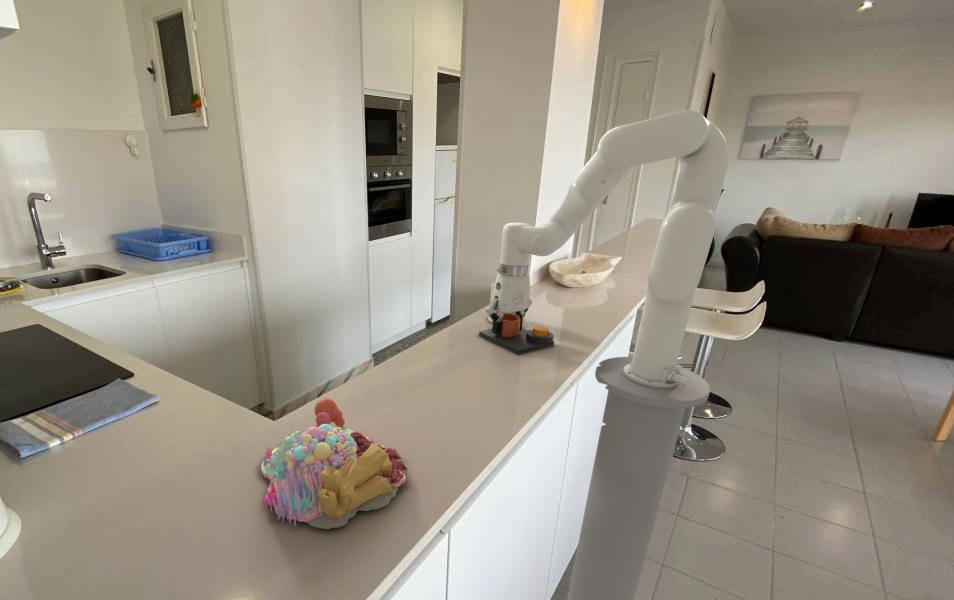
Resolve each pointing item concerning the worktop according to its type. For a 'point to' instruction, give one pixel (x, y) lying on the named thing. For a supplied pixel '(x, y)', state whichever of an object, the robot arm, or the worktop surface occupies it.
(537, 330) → the button
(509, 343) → the scale
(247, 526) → the worktop surface
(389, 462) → the dessert platter
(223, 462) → the worktop surface
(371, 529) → the worktop surface
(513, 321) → the bowl
